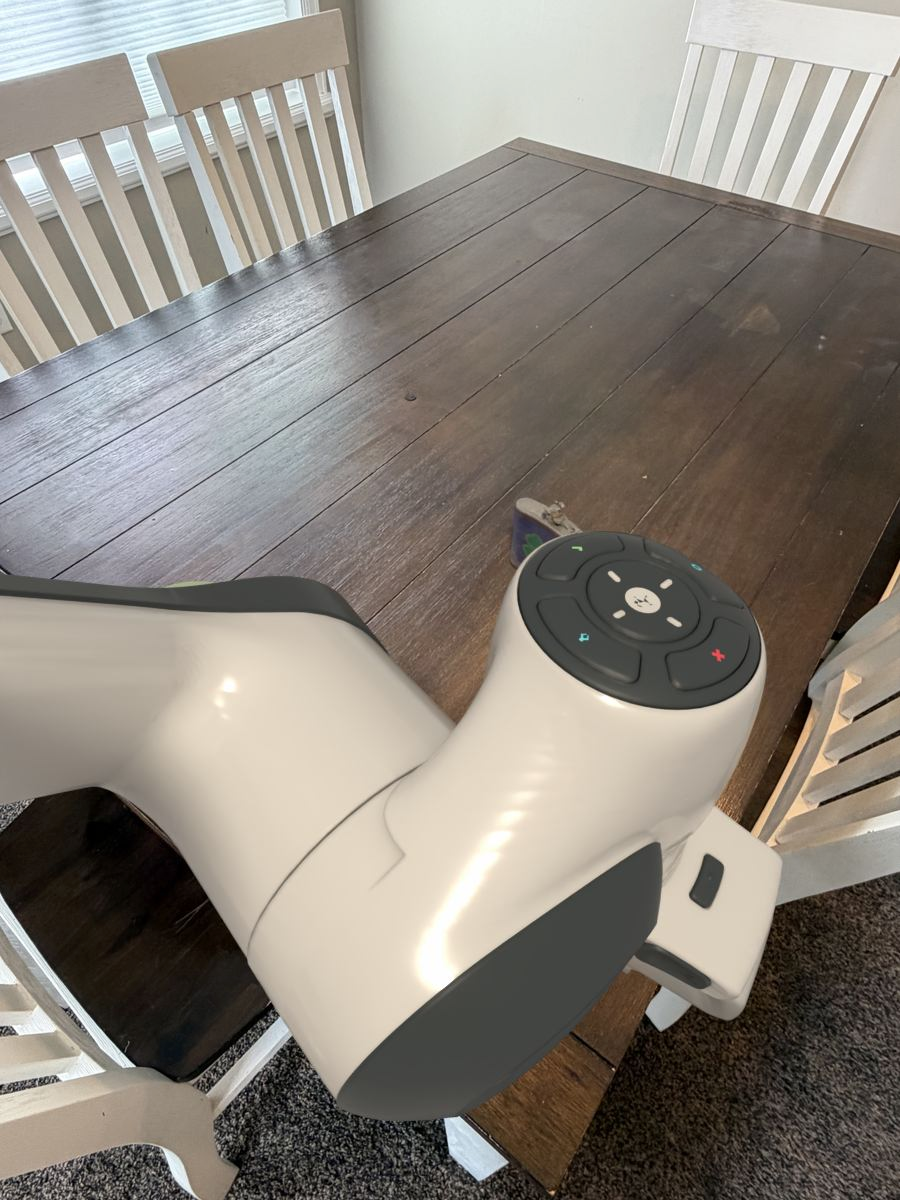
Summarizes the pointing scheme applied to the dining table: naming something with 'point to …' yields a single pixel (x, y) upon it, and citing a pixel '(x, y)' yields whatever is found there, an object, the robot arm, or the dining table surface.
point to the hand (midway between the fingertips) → (546, 909)
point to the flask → (536, 527)
